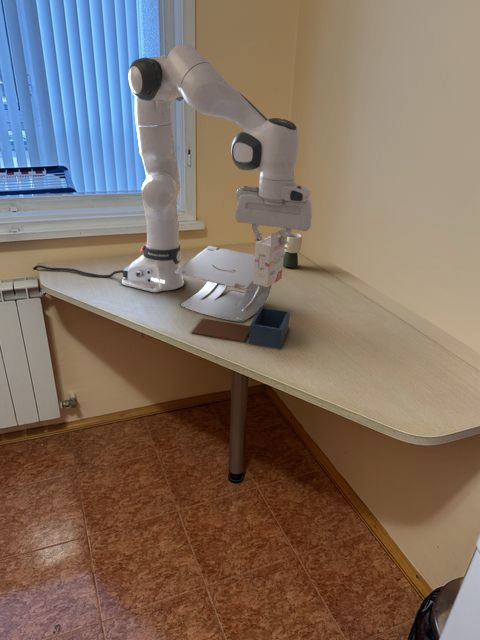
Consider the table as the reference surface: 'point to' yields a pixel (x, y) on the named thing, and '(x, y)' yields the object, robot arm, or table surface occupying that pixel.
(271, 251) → the ink cartridge box
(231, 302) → the laptop stand
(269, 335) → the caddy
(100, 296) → the table surface
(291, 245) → the character mug
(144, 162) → the robot arm
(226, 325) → the cork mat
